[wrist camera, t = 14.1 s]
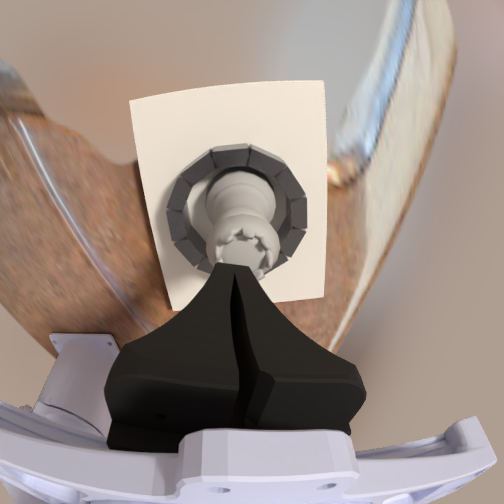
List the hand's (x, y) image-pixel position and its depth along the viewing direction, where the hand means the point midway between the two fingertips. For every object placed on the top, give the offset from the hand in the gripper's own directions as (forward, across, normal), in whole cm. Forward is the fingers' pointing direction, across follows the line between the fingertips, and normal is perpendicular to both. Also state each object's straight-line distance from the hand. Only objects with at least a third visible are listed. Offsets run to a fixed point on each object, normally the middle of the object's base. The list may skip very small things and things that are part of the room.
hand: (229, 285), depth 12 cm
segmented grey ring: (+10, 0, 0) cm, 10 cm away
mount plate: (+10, 0, 0) cm, 10 cm away
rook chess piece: (+9, 0, -1) cm, 9 cm away
